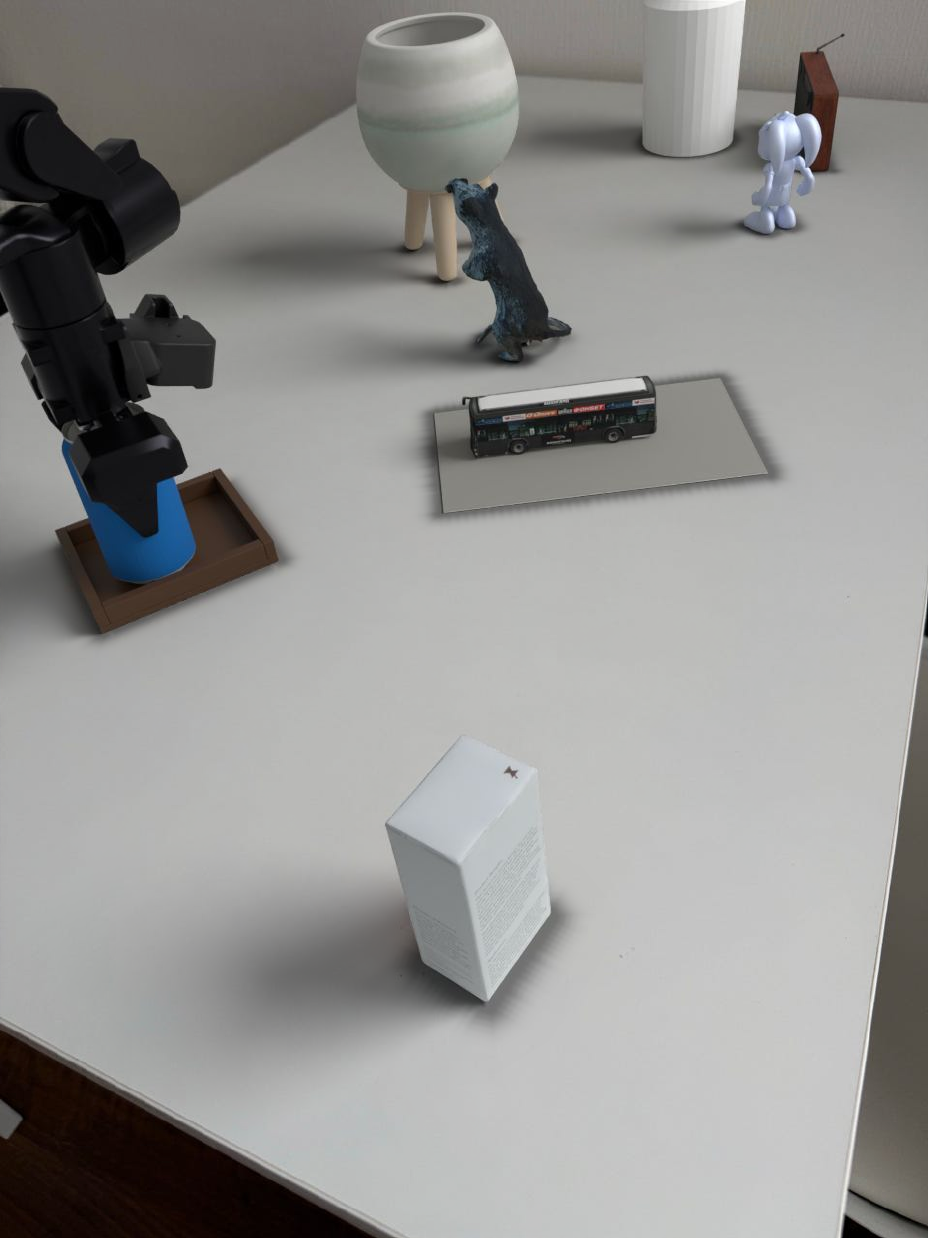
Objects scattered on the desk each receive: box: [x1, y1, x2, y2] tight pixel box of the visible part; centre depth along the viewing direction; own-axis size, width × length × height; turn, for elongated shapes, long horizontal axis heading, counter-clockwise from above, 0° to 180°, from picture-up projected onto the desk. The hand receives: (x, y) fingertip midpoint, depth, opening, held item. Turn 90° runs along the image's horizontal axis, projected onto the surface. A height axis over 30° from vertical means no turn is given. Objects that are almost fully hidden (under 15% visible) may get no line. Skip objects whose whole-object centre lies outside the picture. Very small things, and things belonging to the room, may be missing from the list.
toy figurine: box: [743, 110, 821, 235], centre depth 107 cm, size 7×6×12 cm
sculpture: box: [445, 178, 573, 362], centre depth 93 cm, size 8×11×15 cm
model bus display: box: [433, 375, 769, 514], centre depth 83 cm, size 14×25×4 cm, turn 94°
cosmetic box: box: [384, 734, 552, 1003], centre depth 49 cm, size 6×4×12 cm
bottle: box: [642, 0, 747, 158], centre depth 124 cm, size 12×12×25 cm
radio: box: [792, 33, 845, 172], centre depth 121 cm, size 19×3×15 cm, turn 172°
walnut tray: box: [54, 467, 280, 634], centre depth 78 cm, size 14×12×2 cm
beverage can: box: [61, 401, 196, 584], centre depth 74 cm, size 6×6×12 cm
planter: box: [355, 11, 520, 282], centre depth 106 cm, size 16×16×22 cm
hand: (137, 511), depth 74 cm, fingers closed on beverage can, 6 cm apart
